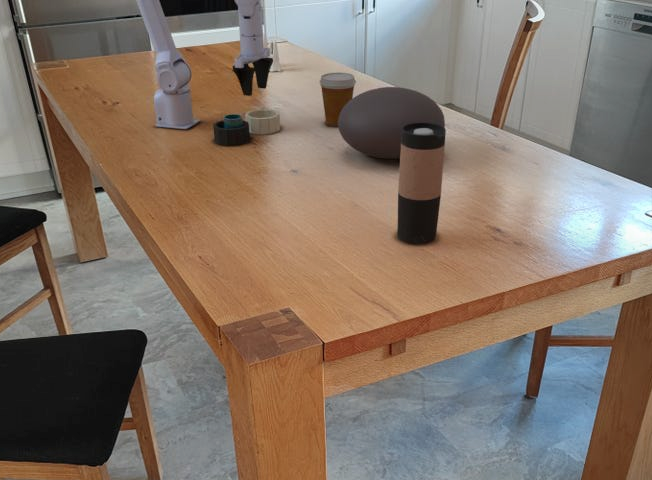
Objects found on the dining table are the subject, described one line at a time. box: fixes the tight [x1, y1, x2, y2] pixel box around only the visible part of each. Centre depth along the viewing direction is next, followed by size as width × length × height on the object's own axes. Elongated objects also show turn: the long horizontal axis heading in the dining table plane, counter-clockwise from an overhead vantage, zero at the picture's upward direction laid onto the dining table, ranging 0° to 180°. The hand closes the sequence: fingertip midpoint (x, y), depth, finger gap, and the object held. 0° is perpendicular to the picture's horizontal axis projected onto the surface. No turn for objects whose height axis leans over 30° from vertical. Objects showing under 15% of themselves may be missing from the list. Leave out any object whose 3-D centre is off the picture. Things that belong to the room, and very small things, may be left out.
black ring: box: [212, 119, 251, 147], centre depth 181 cm, size 9×9×4 cm
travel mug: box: [397, 122, 447, 246], centre depth 128 cm, size 8×8×20 cm
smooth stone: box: [337, 86, 446, 160], centre depth 168 cm, size 25×25×15 cm
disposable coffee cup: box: [319, 72, 357, 127], centre depth 190 cm, size 10×10×12 cm
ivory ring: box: [244, 108, 281, 135], centre depth 188 cm, size 9×9×4 cm
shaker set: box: [263, 32, 282, 72], centre depth 243 cm, size 12×4×11 cm, turn 34°
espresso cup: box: [222, 113, 244, 129], centre depth 180 cm, size 5×5×6 cm
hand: (254, 91), depth 185 cm, fingers open, 7 cm apart
